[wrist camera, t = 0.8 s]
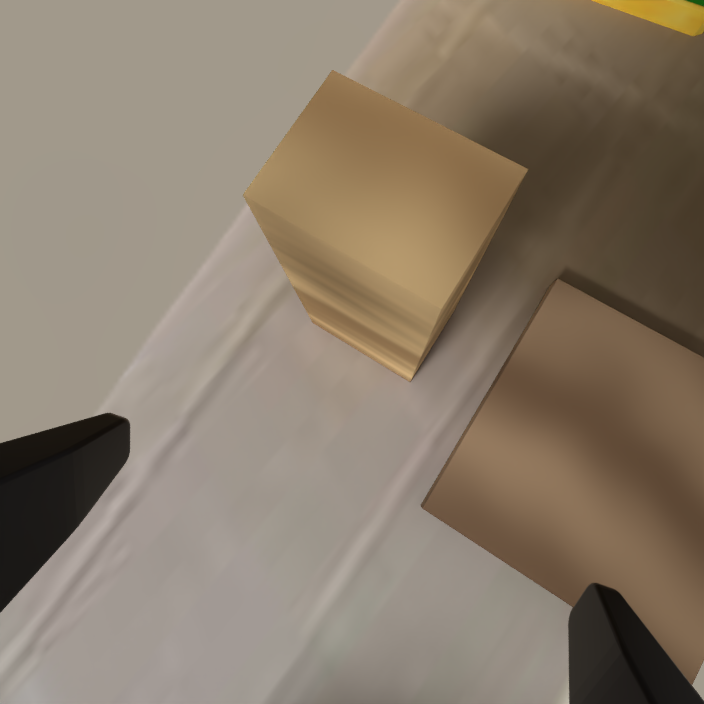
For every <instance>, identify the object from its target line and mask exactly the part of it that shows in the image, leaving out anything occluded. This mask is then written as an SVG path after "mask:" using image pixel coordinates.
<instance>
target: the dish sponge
mask: <svg viewBox="0 0 704 704" xmlns="http://www.w3.org/2000/svg"><path fill="white" fill-rule="evenodd" d="M592 1H595V2H598V3H600V4H603V5H606V6H609V7H612V8H615V9H617V10H620V11H623V12H626V13H629V14H632V15H634V16H637V17H640V18H643V19H646V20H648V21H651V22H654V23H657V24H660V25H663V26H665V27H668V28H671V29H674V30H677V31H680V32H682V33H685V34H688V35H691V36H696V35H699V34H702V33H703V32H704V0H592Z"/></svg>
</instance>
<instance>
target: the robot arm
mask: <svg viewBox="0 0 704 704" xmlns="http://www.w3.org/2000/svg"><path fill="white" fill-rule="evenodd" d="M129 453H130V423H129V421H128V419H126V418H124V417H121V416H118V415H115V414H113V413H105V414H101V415H98V416H94V417H91V418H87V419H84V420H81V421H77V422H73V423H70V424H66V425H63V426H59V427H56V428H52V429H49V430H45V431H42V432H38V433H35V434H31V435H28V436H24V437H21V438H17V439H14V440H10V441H6V442H3V443H0V612H1V611H2V610H3V609H4V608H5V607H6V606H7V605H8V604H9V603H10V601H11V600H12V599H13V598H14V597H15V596H16V595H17V594H18V593H19V591H20V590H21V589H22V588H23V587H24V586H25V585H26V584H27V583H28V582H29V580H30V579H31V578H32V577H33V576H34V575H35V574H36V573H37V572H38V571H39V569H40V568H41V567H42V566H43V565H44V564H45V563H46V562H47V561H48V560H49V558H50V557H51V556H52V555H53V554H54V553H55V552H56V551H57V550H58V549H59V547H60V546H61V545H62V544H63V543H64V542H65V541H66V540H67V539H68V537H69V536H70V535H71V534H72V533H73V532H74V531H75V529H76V528H77V527H78V526H79V525H80V523H81V522H82V521H83V519H84V518H85V517H86V516H87V514H88V513H89V512H90V510H91V509H92V508H93V506H94V505H95V503H96V502H97V501H98V499H99V498H100V497H101V495H102V494H103V493H104V491H105V490H106V489H107V487H108V486H109V485H110V483H111V482H112V481H113V479H114V478H115V477H116V475H117V474H118V472H119V471H120V470H121V468H122V467H123V466H124V464H125V463H126V461H127V459H128V457H129ZM568 629H569V704H704V700H703V699H702V698H701V697H700V695H699V694H698V693H697V691H696V690H695V689H694V688H693V686H692V685H691V684H690V682H689V681H688V680H687V679H686V677H685V676H684V675H683V673H682V672H681V671H680V670H679V668H678V667H677V666H676V664H675V663H674V662H673V661H672V659H671V658H670V657H669V655H668V654H667V653H666V652H665V650H664V649H663V648H662V646H661V645H660V644H659V643H658V641H657V640H656V639H655V637H654V636H653V635H652V634H651V632H650V631H649V630H648V628H647V627H646V626H645V625H644V623H643V622H642V621H641V619H640V618H639V617H638V615H637V614H636V613H635V612H634V610H633V609H632V608H631V606H630V605H629V604H628V603H627V601H626V600H625V599H624V597H623V596H622V595H621V594H620V593H619V592H618V591H617V590H615V589H613V588H610V587H608V586H605V585H602V584H599V583H591V584H589V585H588V587H587V588H586V589H585V591H584V592H583V594H582V595H581V597H580V598H579V600H578V601H577V603H576V604H575V606H574V607H573V609H572V611H571V613H570V616H569V624H568Z"/></svg>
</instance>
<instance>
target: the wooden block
mask: <svg viewBox="0 0 704 704" xmlns="http://www.w3.org/2000/svg"><path fill="white" fill-rule="evenodd" d="M527 171H528V169H527V168H525V167H523V166H521V165H519V164H517V163H515V162H513V161H511V160H509V159H507V158H505V157H503V156H501V155H499V154H497V153H495V152H493V151H491V150H489V149H487V148H485V147H483V146H481V145H479V144H478V143H476V142H474V141H472V140H470V139H468V138H466V137H464V136H462V135H460V134H458V133H456V132H454V131H452V130H450V129H448V128H446V127H444V126H442V125H440V124H438V123H436V122H434V121H432V120H430V119H428V118H426V117H424V116H422V115H420V114H418V113H416V112H414V111H412V110H410V109H408V108H407V107H405V106H403V105H401V104H399V103H397V102H395V101H393V100H391V99H389V98H387V97H385V96H383V95H381V94H379V93H377V92H375V91H373V90H371V89H369V88H367V87H365V86H363V85H361V84H359V83H357V82H355V81H353V80H351V79H349V78H347V77H345V76H343V75H341V74H339V73H337V72H335V71H334V70H332V71H331V73H330V74H329V75H328V77H327V78H326V80H325V81H324V83H323V84H322V85H321V87H320V88H319V90H318V91H317V92H316V94H315V95H314V96H313V98H312V99H311V101H310V102H309V103H308V105H307V106H306V108H305V109H304V110H303V112H302V113H301V114H300V116H299V117H298V119H297V120H296V122H295V123H294V124H293V126H292V127H291V128H290V130H289V131H288V133H287V134H286V135H285V137H284V138H283V140H282V141H281V142H280V144H279V145H278V147H277V148H276V149H275V151H274V152H273V154H272V155H271V157H270V158H269V159H268V160H267V162H266V164H265V165H264V166H263V168H262V169H261V170H260V172H259V173H258V175H257V176H256V177H255V179H254V180H253V181H252V183H251V184H250V186H249V187H248V188H247V190H246V191H245V193H244V194H243V196H244V198H245V200H246V202H247V204H248V205H249V207H250V209H251V211H252V213H253V215H254V216H255V218H256V220H257V222H258V224H259V225H260V227H261V229H262V231H263V233H264V235H265V236H266V238H267V240H268V242H269V244H270V245H271V247H272V249H273V251H274V253H275V255H276V256H277V258H278V260H279V262H280V264H281V266H282V267H283V269H284V271H285V273H286V275H287V276H288V278H289V280H290V282H291V284H292V286H293V287H294V289H295V291H296V293H297V295H298V297H299V298H300V300H301V302H302V304H303V306H304V307H305V309H306V311H307V313H308V315H309V317H310V318H311V320H312V322H313V323H314V324H316V325H317V326H319V327H321V328H322V329H324V330H326V331H327V332H329V333H331V334H332V335H334V336H335V337H337V338H339V339H340V340H342V341H344V342H345V343H347V344H349V345H350V346H352V347H353V348H355V349H357V350H358V351H360V352H362V353H363V354H365V355H367V356H368V357H370V358H372V359H373V360H375V361H376V362H378V363H380V364H381V365H383V366H385V367H386V368H388V369H390V370H391V371H393V372H394V373H396V374H398V375H399V376H401V377H403V378H404V379H406V380H408V381H409V382H411V380H412V378H413V377H414V375H415V373H416V372H417V370H418V369H419V367H420V365H421V364H422V362H423V360H424V359H425V357H426V356H427V354H428V352H429V351H430V349H431V348H432V346H433V344H434V343H435V341H436V339H437V338H438V336H439V335H440V333H441V331H442V330H443V328H444V326H445V325H446V323H447V322H448V320H449V318H450V317H451V315H452V313H453V312H454V310H455V308H456V306H457V304H458V302H459V300H460V298H461V297H462V295H463V293H464V291H465V289H466V287H467V285H468V283H469V281H470V279H471V278H472V276H473V274H474V272H475V270H476V268H477V266H478V264H479V262H480V260H481V258H482V257H483V255H484V253H485V251H486V249H487V247H488V245H489V243H490V241H491V239H492V238H493V236H494V234H495V232H496V230H497V228H498V226H499V224H500V222H501V220H502V218H503V217H504V215H505V213H506V211H507V209H508V207H509V205H510V203H511V201H512V199H513V198H514V196H515V194H516V192H517V190H518V188H519V186H520V184H521V182H522V180H523V178H524V177H525V175H526V173H527Z"/></svg>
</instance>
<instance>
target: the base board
mask: <svg viewBox="0 0 704 704" xmlns="http://www.w3.org/2000/svg"><path fill="white" fill-rule="evenodd" d="M421 507H422V508H423V509H424V510H426V511H427V512H429V513H430V514H432V515H433V516H435V517H436V518H438V519H439V520H441V521H443V522H444V523H446V524H447V525H449V526H450V527H452V528H453V529H455V530H456V531H458V532H459V533H461V534H462V535H464V536H465V537H467V538H468V539H470V540H472V541H473V542H475V543H476V544H478V545H479V546H481V547H482V548H484V549H485V550H487V551H488V552H490V553H491V554H493V555H494V556H496V557H497V558H499V559H501V560H502V561H504V562H505V563H507V564H508V565H510V566H511V567H513V568H514V569H516V570H517V571H519V572H520V573H522V574H523V575H525V576H526V577H528V578H530V579H531V580H533V581H534V582H536V583H537V584H539V585H540V586H542V587H543V588H545V589H546V590H548V591H549V592H551V593H552V594H554V595H555V596H557V597H559V598H560V599H562V600H563V601H565V602H566V603H568V604H569V605H571V606H572V607H574V606H575V604H576V603H577V601H578V600H579V598H580V597H581V595H582V594H583V592H584V591H585V589H586V588H587V587H588V585H589V584H591V583H599V584H602V585H605V586H608V587H610V588H613V589H615V590H617V591H618V592H619V593H620V594H621V595H622V596H623V597H624V599H625V600H626V601H627V603H628V604H629V605H630V606H631V608H632V609H633V610H634V612H635V613H636V614H637V615H638V617H639V618H640V619H641V621H642V622H643V623H644V625H645V626H646V627H647V628H648V630H649V631H650V632H651V634H652V635H653V636H654V637H655V639H656V640H657V641H658V643H659V644H660V645H661V646H662V648H663V649H664V650H665V652H666V653H667V654H668V655H669V657H670V658H671V659H672V661H673V662H674V663H675V664H676V666H677V667H678V668H679V670H680V671H681V672H682V673H683V675H684V676H685V677H686V679H687V680H688V681H689V682H690V684H691V685H692V684H693V682H694V680H695V678H696V676H697V674H698V671H699V669H700V667H701V665H702V663H703V661H704V357H702V356H700V355H698V354H696V353H694V352H693V351H691V350H689V349H687V348H685V347H683V346H681V345H680V344H678V343H676V342H674V341H672V340H670V339H668V338H667V337H665V336H663V335H661V334H659V333H657V332H656V331H654V330H652V329H650V328H648V327H646V326H644V325H643V324H641V323H639V322H637V321H635V320H633V319H632V318H630V317H628V316H626V315H624V314H622V313H620V312H619V311H617V310H615V309H613V308H611V307H609V306H607V305H606V304H604V303H602V302H600V301H598V300H596V299H595V298H593V297H591V296H589V295H587V294H585V293H583V292H582V291H580V290H578V289H576V288H574V287H572V286H571V285H569V284H567V283H565V282H563V281H561V280H559V279H557V280H556V281H554V282H553V283H552V284H551V285H550V287H549V288H548V290H547V292H546V294H545V295H544V297H543V299H542V300H541V302H540V304H539V305H538V307H537V309H536V310H535V312H534V314H533V316H532V317H531V319H530V321H529V322H528V324H527V326H526V327H525V329H524V331H523V333H522V334H521V336H520V338H519V339H518V341H517V343H516V344H515V346H514V348H513V350H512V351H511V353H510V355H509V356H508V358H507V360H506V361H505V363H504V365H503V367H502V368H501V370H500V372H499V373H498V375H497V377H496V378H495V380H494V382H493V384H492V385H491V387H490V389H489V390H488V392H487V394H486V395H485V397H484V399H483V401H482V402H481V404H480V406H479V407H478V409H477V411H476V412H475V414H474V416H473V417H472V419H471V421H470V423H469V424H468V426H467V428H466V429H465V431H464V433H463V434H462V436H461V438H460V440H459V441H458V443H457V445H456V446H455V448H454V450H453V451H452V453H451V455H450V457H449V458H448V460H447V462H446V463H445V465H444V467H443V468H442V470H441V472H440V474H439V475H438V477H437V479H436V480H435V482H434V484H433V485H432V487H431V489H430V491H429V492H428V494H427V496H426V497H425V499H424V501H423V502H422V504H421Z"/></svg>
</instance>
